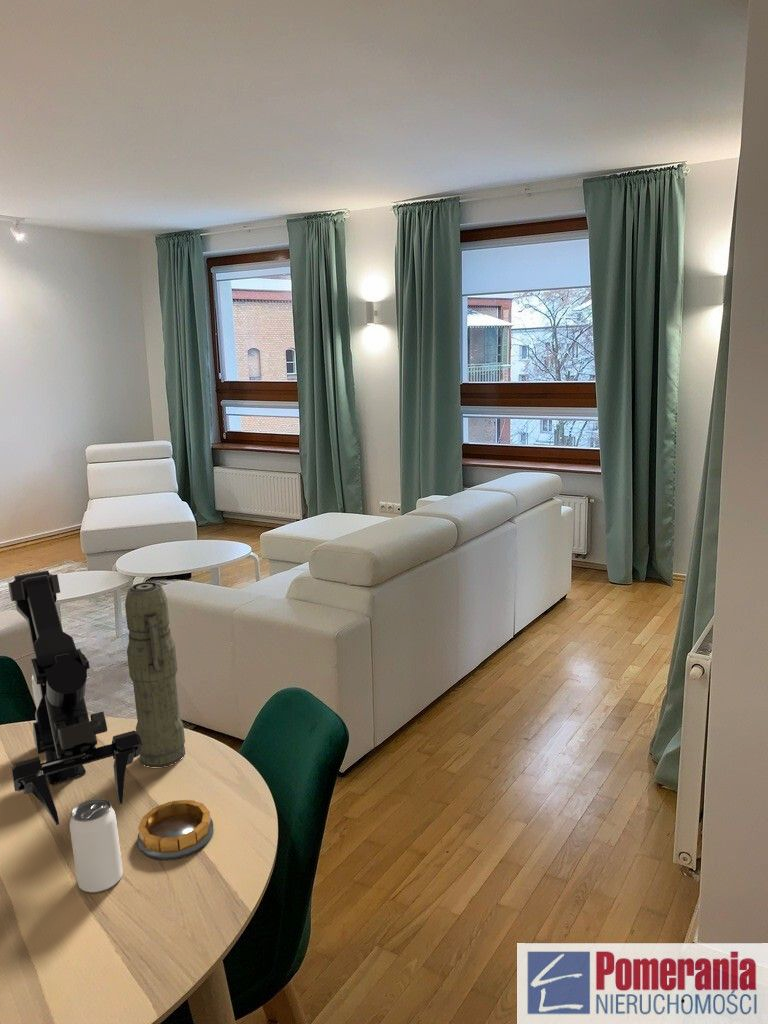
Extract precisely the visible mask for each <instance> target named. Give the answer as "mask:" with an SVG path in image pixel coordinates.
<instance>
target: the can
mask: <svg viewBox="0 0 768 1024" xmlns="http://www.w3.org/2000/svg"><path fill="white" fill-rule="evenodd" d="M70 815H71V818H70V820H69V831H70V839H71V847H72V853H73V860H74V867H75V873H76V874H75V875H76V879H77V886H78V887H79V889H80V890H82V891H83V892H85V893H88V894H89V893H90V894H92V893H93V894H98V893H102V892H104V891H107V890H109V889H112V888H113V887H114V886H115V885H117V884H118V882H119V881H120V879H121V878H122V876H123V872H124V871H123V863H122V862H123V861H122V854H121V847H120V839H119V830H118V823H117V816H116V812H115V809H114V808H113V807H112V802H110V800H108V799H107V798H97V797H96V798H91V799H87V800H84V801H82V802H80V803H78V804H77V805H76V806H75V807H73V809H72V811H71V814H70Z"/></svg>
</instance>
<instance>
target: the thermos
mask: <svg viewBox="0 0 768 1024" xmlns="http://www.w3.org/2000/svg"><path fill="white" fill-rule="evenodd" d="M168 605H169V603H168V598H167V595H166V593H165V591H164V588H163V586H162V585H161V584H160V583H158V582H157V583H156V582H152V581H150V582H149V581H145V582H139V583H136V584H133V585H132V586H130V587H129V588H128V589H127V592H126V597H125V602H124V608H125V616H126V617H125V618H126V626H127V630H128V644H127V648H126V655H127V663H128V673H129V678H130V679H131V681H132V684H133V693H134V704H135V710H136V720H137V723H136V726H135V731H136V732H138V733H139V735H140V738H141V742H142V747H141V751H140V755H139V762H140V764H141V763H142V764H143V765H145V766H149V767H163V768H165V767H164V766H168V767H170V766H169V765H171V764H174V763H175V762H177V761H179V760H180V759H181V758H182V757H184V758H185V756H186V747H185V743H186V739H185V738H186V737H185V728H184V727H185V726H184V722H183V720H182V718H181V716H180V707H179V705H180V704H179V697H178V688H177V687H178V686H177V677H176V675H177V672H178V661H177V653H176V642H175V641H174V638H173V636H172V635H171V628H169V627H170V626H169V625H170V616H169V606H168ZM184 755H185V756H184ZM181 760H182V759H181ZM181 760H180V761H181ZM180 761H179V762H180ZM177 763H178V762H177ZM142 764H141V765H142ZM175 764H176V763H175ZM175 764H174V765H175ZM143 765H142V766H143ZM145 766H144V767H145ZM171 766H172V765H171ZM149 767H148V768H149Z"/></svg>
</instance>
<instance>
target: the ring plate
mask: <svg viewBox="0 0 768 1024" xmlns="http://www.w3.org/2000/svg"><path fill="white" fill-rule="evenodd" d="M137 834H138V835H137V846H138V847H137V848H138V849H139V852H141V854H142V855H143V856H145V857H147V858H149V859H151V860H157V861H174V860H175V861H176V860H179V859H184V858H186V857H189V856H192V855H193V854H196V853H197V852H199V851H200V850H202V849H203V848H205V846H207V845H208V843H209V842H210V841H211V839H212V838H213V835H214V822H213V819H212V817H211V811H210V810H209V809H208V808H207V806H206V805H205V804H204V803H202V802H200V801H195V800H191V799H183V800H182V799H180V800H172V801H171V800H170V801H168V802H166V803H163V804H160V805H158V806H155V807H154V808H152V809H150V811H148V812H147V813H146V814H144V815H143V816H142V818H141V819H140V823H139V824H138V833H137Z"/></svg>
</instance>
